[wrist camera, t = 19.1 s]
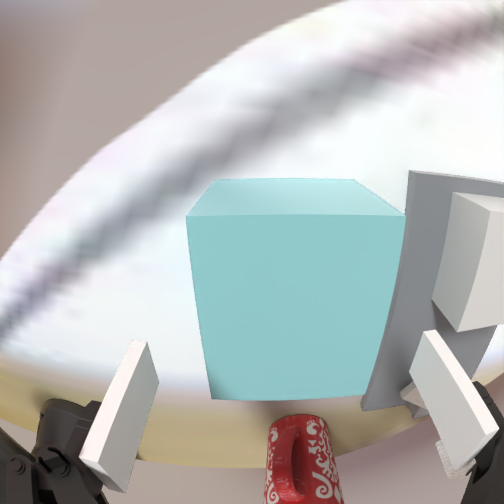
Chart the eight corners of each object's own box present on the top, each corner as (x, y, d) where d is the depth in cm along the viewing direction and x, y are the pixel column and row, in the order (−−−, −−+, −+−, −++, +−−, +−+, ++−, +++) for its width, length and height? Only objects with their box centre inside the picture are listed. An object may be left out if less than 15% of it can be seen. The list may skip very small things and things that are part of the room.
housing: (360, 403, 31) (371, 445, 25) (409, 170, 20) (452, 188, 15) (461, 384, 30) (479, 417, 24) (526, 186, 20) (568, 205, 14)
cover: (229, 360, 28) (219, 437, 20) (215, 179, 21) (185, 216, 13) (333, 358, 28) (350, 433, 20) (354, 179, 21) (406, 216, 13)
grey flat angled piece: (448, 414, 26) (475, 479, 17) (399, 392, 23) (430, 478, 15) (461, 404, 25) (491, 468, 16) (415, 378, 23) (451, 465, 14)
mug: (338, 437, 34) (351, 524, 22) (273, 450, 35) (273, 535, 23) (323, 383, 29) (342, 497, 17) (241, 400, 31) (232, 510, 18)
